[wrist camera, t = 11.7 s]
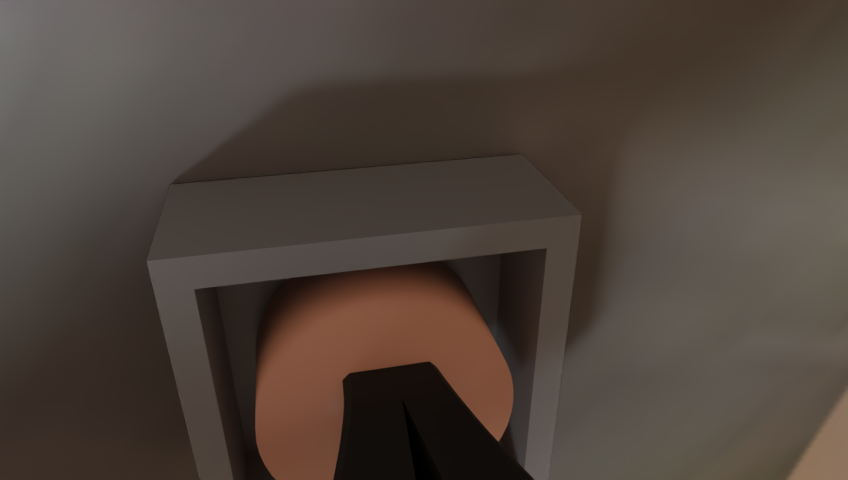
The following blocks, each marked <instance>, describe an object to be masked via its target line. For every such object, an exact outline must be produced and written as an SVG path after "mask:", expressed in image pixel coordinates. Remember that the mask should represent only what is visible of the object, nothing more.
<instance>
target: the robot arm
mask: <svg viewBox="0 0 848 480" xmlns="http://www.w3.org/2000/svg"><path fill="white" fill-rule="evenodd" d="M342 383H343V395H344V412H343V423H342V432H341V440H340V446H339V452H338V457H337V462H336V468H335V473H334V478H333V480H534V479H533V477H532V476H531V475H530V474H529V473H528V472H527V471H526V470H525V469H524V468H523V467H522V466H521V465H520V464H519V463H518V462H517V461H516V460H515V459H514V458H513V457H512V456H511V455H510V454H509V453H508V451H507V450H506V449H505V448H504V447H503V446H502V445H501V444H500V443H499V442H498V441H497V440H496V439H495V438H494V436H493V435H492V434H491V433H490V432H489V431H488V430H487V429H486V428H485V426H484V425H483V424H482V423H481V422H480V421H479V420H478V418H477V417H476V416H475V415H474V414H473V412H472V411H471V410H470V409H469V408H468V406H467V405H466V404H465V403H464V402H463V400H462V399H461V398H460V397H459V396H458V394H457V393H456V392H455V391H454V389H453V388H452V387H451V385H450V384H449V383H448V382H447V380H446V379H445V378H444V376H443V375H442V374H441V372H440V371H439V369H438V368H437V367H436V366H435V365H434V364H432V363H431V362H430V361H428V362H421V363H414V364H408V365H401V366H394V367H388V368H381V369H374V370H367V371H360V372H354V373H349V374H348V375H347V376H346V377H345V378H344V379H343V380H342Z"/></svg>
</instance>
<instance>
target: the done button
mask: <svg viewBox="0 0 848 480" xmlns="http://www.w3.org/2000/svg"><path fill="white" fill-rule="evenodd" d="M428 361H430V362H431V363H432V364H434V365H435V366H436V367H437V368H438V369H439V371H440V372H441V374H442V375H443V376H444V378H445V379H446V380H447V382H448V383H449V384H450V385H451V387H452V388H453V389H454V391H455V392H456V393H457V394H458V396H459V397H460V398H461V399H462V400H463V402H464V403H465V404H466V405H467V406H468V408H469V409H470V410H471V411H472V412H473V414H474V415H475V416H476V417H477V418H478V420H479V421H480V422H481V423H482V424H483V425H484V426H485V428H486V429H487V430H488V431H489V432H490V433H491V434H492V435H493V436H494V438H495V439H496V440H497V441H498V442H499V440H500V439H501V437H502V435H503V433H504V431H505V429H506V427H507V425H508V422H509V418H510V415H511V412H512V406H513V382H512V376H511V373H510V370H509V368H508V365H507V363H506V361H505V359H504V357H503V355H502V353H501V351H500V349H499V347H498V345H497V344H496V342H495V340H494V338H493V336H492V334H491V332H490V330H489V328H488V326H487V324H486V323H485V321H484V319H483V317H482V315H481V313H480V311H479V309H478V307H477V305H476V303H475V301H474V300H473V298H472V296H471V294H470V292H469V290H468V289H467V287H466V285H465V283H464V282H463V281H462V280H461V278H460V277H459V276H458V275H457V274H456V273H455V272H454V271H453V270H452V269H451V268H450V267H449V266H448V265H446V264H445V263H443V262H442V261H432V262H424V263H415V264H407V265H398V266H389V267H381V268H372V269H364V270H355V271H347V272H338V273H329V274H321V275H312V276H304V277H295V278H290V279H288V280H287V281H286V282H285V283H284V284H283V285H282V286H281V287H280V289H279V290H278V291H277V292H276V293H275V295H274V296H273V297H272V299H271V301H270V302H269V304H268V305H267V307H266V309H265V311H264V313H263V316H262V318H261V320H260V324H259V328H258V332H257V340H256V405H255V431H256V443H257V446H258V450H259V454H260V456H261V458H262V460H263V462H264V465H265V466H266V468H267V469H268V471H269V472H270V473H271V475H272V476H273V477H274V478H275V479H276V480H333V478H334V473H335V468H336V462H337V457H338V452H339V446H340V440H341V432H342V423H343V412H344V395H343V383H342V380H343V379H344V378H345V377H346V376H347V375H348V374H349V373H354V372H360V371H367V370H374V369H381V368H388V367H394V366H401V365H408V364H414V363H421V362H428Z"/></svg>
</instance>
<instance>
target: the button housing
mask: <svg viewBox="0 0 848 480" xmlns="http://www.w3.org/2000/svg"><path fill="white" fill-rule="evenodd" d="M581 221H582V214H581V213H580V212H579V211H578V210H577V209H576V208H575V207H574V206H573V205H572V204H571V203H570V202H569V201H568V200H567V199H566V198H565V197H564V196H563V195H562V194H561V193H560V192H559V191H558V190H557V189H556V188H555V187H554V186H553V185H552V184H551V183H550V182H549V181H548V180H547V179H546V177H545V176H544V175H543V174H542V173H541V172H540V171H539V170H538V169H537V168H536V167H535V166H534V165H533V164H532V163H531V162H530V161H529V160H528V159H527V158H526V157H525V156H524V155H523V154H518V155H506V156H495V157H483V158H471V159H460V160H448V161H436V162H425V163H413V164H402V165H390V166H378V167H367V168H355V169H344V170H332V171H320V172H309V173H297V174H286V175H274V176H262V177H251V178H239V179H228V180H216V181H204V182H193V183H181V184H170V185H169V189H168V192H167V195H166V199H165V202H164V205H163V208H162V212H161V215H160V218H159V222H158V225H157V228H156V231H155V235H154V238H153V241H152V244H151V248H150V251H149V254H148V258H147V261H146V262H147V266H148V270H149V274H150V278H151V282H152V286H153V290H154V295H155V299H156V303H157V307H158V311H159V315H160V319H161V323H162V328H163V332H164V336H165V340H166V344H167V348H168V352H169V356H170V361H171V365H172V369H173V373H174V377H175V381H176V385H177V389H178V394H179V398H180V402H181V406H182V410H183V414H184V418H185V422H186V427H187V431H188V435H189V439H190V443H191V447H192V451H193V455H194V460H195V464H196V468H197V472H198V476H199V480H276V479H275V478H274V477H273V476H272V475H271V473H270V472H269V471H268V469H267V468H266V466H265V465H264V462H263V460H262V458H261V456H260V454H259V450H258V446H257V443H256V431H255V405H256V340H257V332H258V328H259V324H260V320H261V318H262V316H263V313H264V311H265V309H266V307H267V305H268V304H269V302H270V301H271V299H272V297H273V296H274V295H275V293H276V292H277V291H278V290H279V289H280V287H281V286H282V285H283V284H284V283H285V282H286V281H287V280H288V279H290V278H295V277H304V276H312V275H321V274H329V273H338V272H347V271H355V270H364V269H372V268H381V267H389V266H398V265H407V264H415V263H424V262H432V261H442V262H443V263H445V264H446V265H448V266H449V267H450V268H451V269H452V270H453V271H454V272H455V273H456V274H457V275H458V276H459V277H460V278H461V280H462V281H463V282H464V283H465V285H466V287H467V289H468V290H469V292H470V294H471V296H472V298H473V300H474V301H475V303H476V305H477V307H478V309H479V311H480V313H481V315H482V317H483V319H484V321H485V323H486V324H487V326H488V328H489V330H490V332H491V334H492V336H493V338H494V340H495V342H496V344H497V345H498V347H499V349H500V351H501V353H502V355H503V357H504V359H505V361H506V363H507V365H508V368H509V370H510V373H511V376H512V382H513V406H512V412H511V415H510V418H509V422H508V425H507V427H506V429H505V431H504V433H503V435H502V437H501V439H500V440H499V443H500V444H501V445H502V446H503V447H504V448H505V449H506V450H507V451H508V453H509V454H510V455H511V456H512V457H513V458H514V459H515V460H516V461H517V462H518V463H519V464H520V465H521V466H522V467H523V468H524V469H525V470H526V471H527V472H528V473H529V474H530V475H531V476H532V477H533V479H534V480H548V478H549V470H550V462H551V455H552V447H553V439H554V431H555V423H556V416H557V408H558V400H559V392H560V384H561V377H562V369H563V361H564V353H565V345H566V338H567V330H568V322H569V314H570V306H571V299H572V291H573V283H574V275H575V267H576V260H577V252H578V244H579V236H580V229H581Z"/></svg>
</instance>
